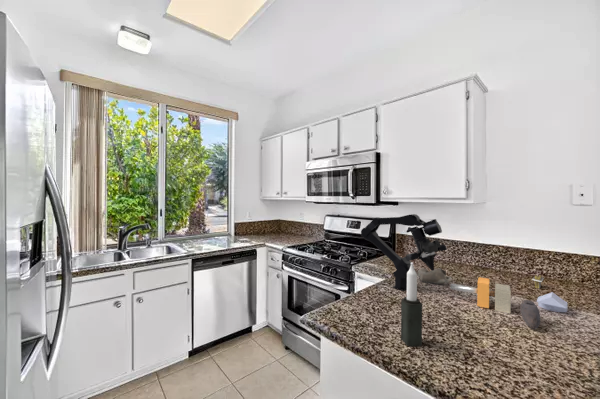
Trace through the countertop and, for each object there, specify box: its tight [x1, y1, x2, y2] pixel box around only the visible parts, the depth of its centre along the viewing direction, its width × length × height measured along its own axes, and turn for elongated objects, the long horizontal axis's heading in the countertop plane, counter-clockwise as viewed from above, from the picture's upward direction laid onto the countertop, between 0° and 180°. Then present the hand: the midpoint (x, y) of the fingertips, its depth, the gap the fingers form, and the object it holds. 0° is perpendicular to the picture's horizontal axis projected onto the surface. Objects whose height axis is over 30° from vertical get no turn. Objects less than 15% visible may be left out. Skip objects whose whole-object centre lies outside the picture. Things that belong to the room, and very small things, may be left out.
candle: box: [400, 261, 423, 347], centre depth 83 cm, size 5×5×25 cm
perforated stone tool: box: [519, 299, 541, 330], centre depth 97 cm, size 15×5×7 cm, turn 144°
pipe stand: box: [449, 282, 512, 314], centre depth 116 cm, size 22×13×9 cm, turn 54°
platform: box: [531, 273, 544, 290], centre depth 141 cm, size 12×18×7 cm, turn 133°
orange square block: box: [476, 276, 490, 309], centre depth 115 cm, size 4×10×10 cm, turn 144°
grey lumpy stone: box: [417, 267, 453, 285], centre depth 146 cm, size 16×9×15 cm
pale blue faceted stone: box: [536, 291, 568, 313], centre depth 112 cm, size 9×7×13 cm
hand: (432, 270), depth 126 cm, fingers closed
